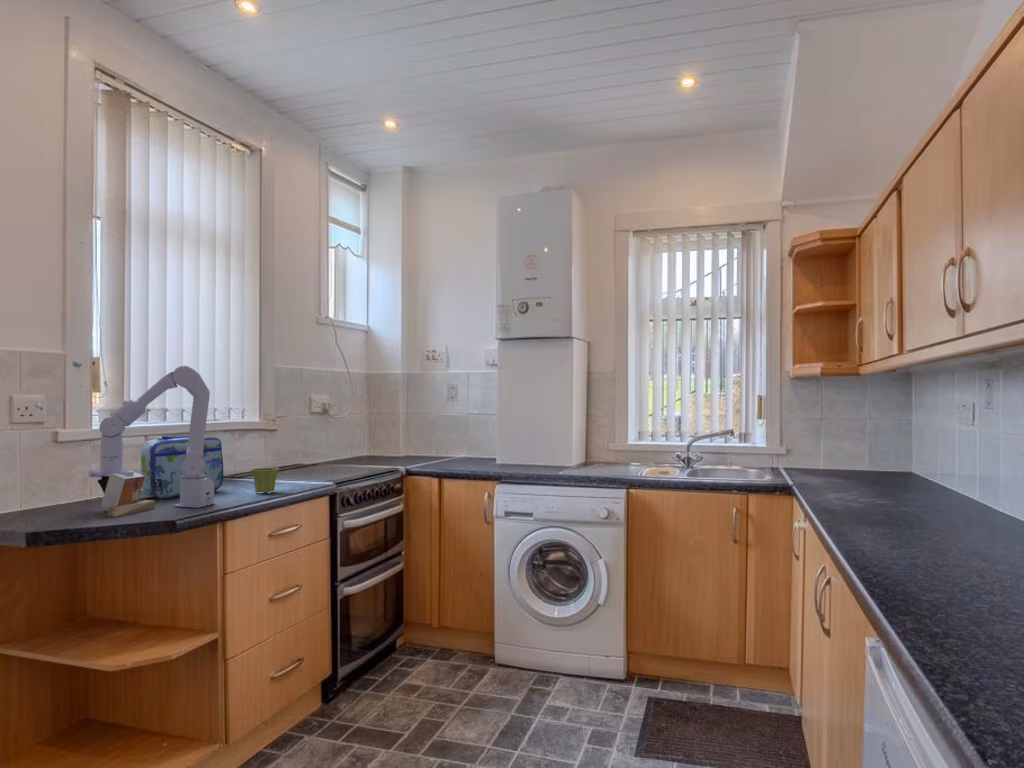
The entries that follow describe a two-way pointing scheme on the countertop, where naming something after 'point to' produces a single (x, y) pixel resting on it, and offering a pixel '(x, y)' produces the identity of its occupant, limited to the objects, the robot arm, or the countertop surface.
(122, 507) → the batten
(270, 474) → the plant pot
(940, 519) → the countertop surface
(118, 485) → the small box
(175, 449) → the lunch box
